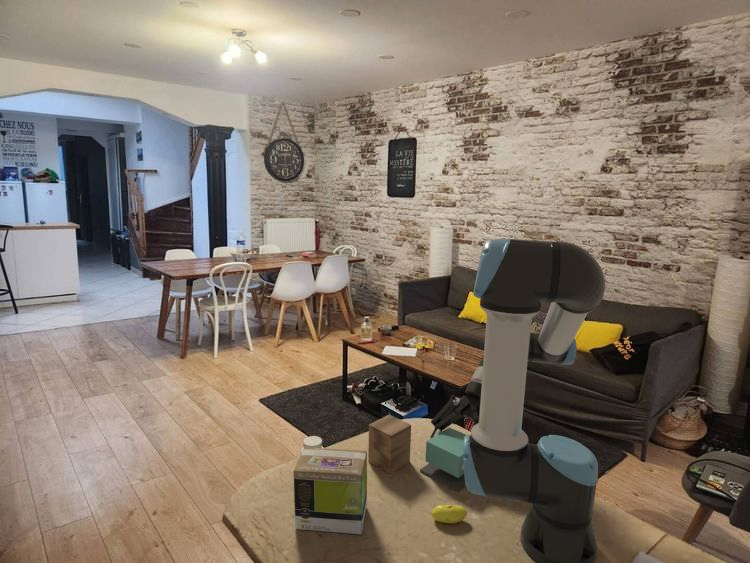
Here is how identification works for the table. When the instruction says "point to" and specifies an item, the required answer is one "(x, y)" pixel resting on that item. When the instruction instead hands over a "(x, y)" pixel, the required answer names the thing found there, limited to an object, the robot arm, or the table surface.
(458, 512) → the yellow oblong rounded piece
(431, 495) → the table surface
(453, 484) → the rubber mat
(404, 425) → the walnut box
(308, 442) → the pill bottle
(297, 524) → the tea box
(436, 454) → the teal square block
